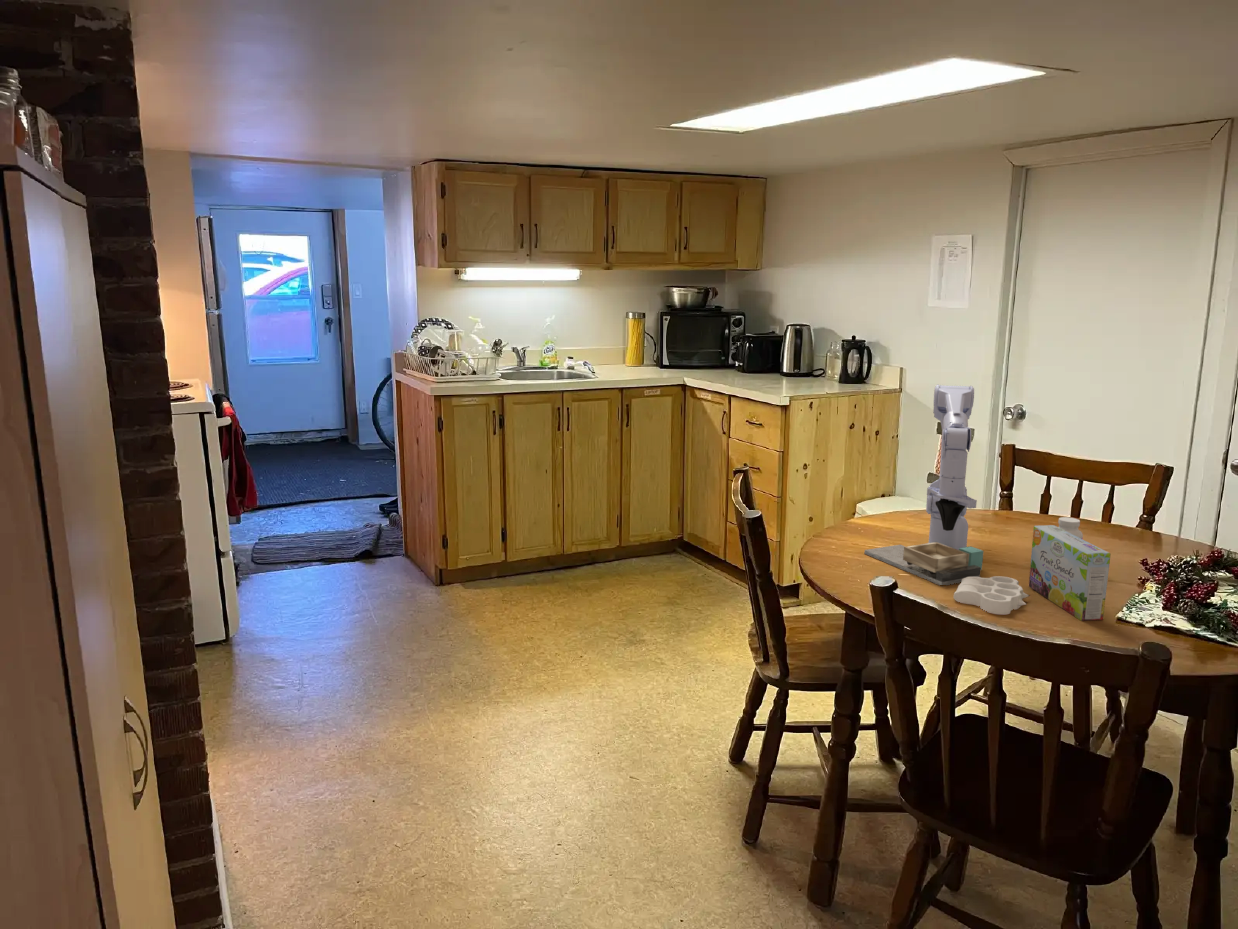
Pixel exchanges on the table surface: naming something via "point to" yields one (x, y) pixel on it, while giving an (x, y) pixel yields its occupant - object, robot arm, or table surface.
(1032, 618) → the table surface
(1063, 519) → the supplement bottle
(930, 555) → the brown open box
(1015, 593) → the white paw tray
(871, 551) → the rail board
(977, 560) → the block
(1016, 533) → the table surface
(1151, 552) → the table surface
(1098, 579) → the snack box
